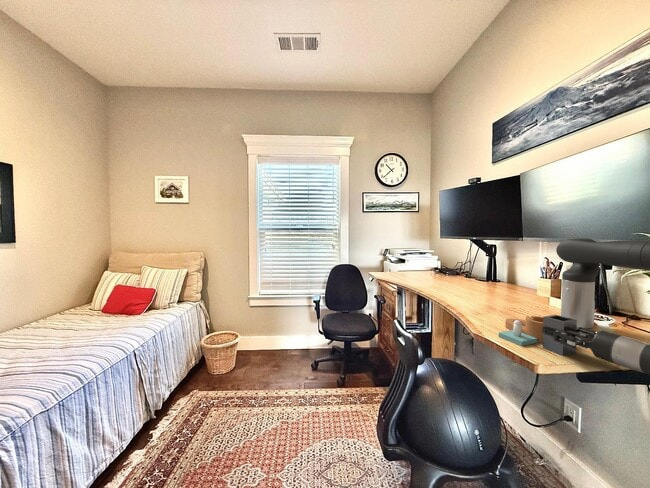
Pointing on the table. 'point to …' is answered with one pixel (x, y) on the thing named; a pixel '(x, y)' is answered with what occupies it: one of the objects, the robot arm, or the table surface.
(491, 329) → the table surface
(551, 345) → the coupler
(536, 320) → the bracket
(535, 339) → the shaft mount
